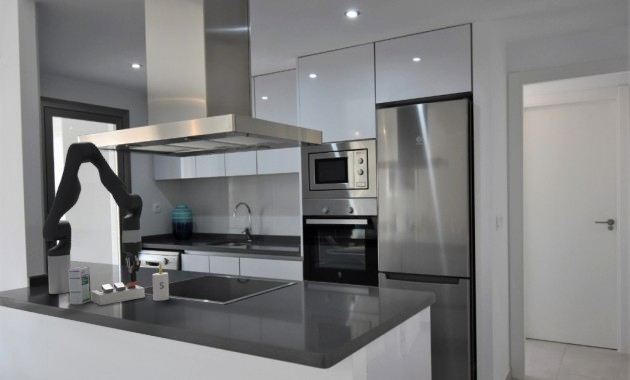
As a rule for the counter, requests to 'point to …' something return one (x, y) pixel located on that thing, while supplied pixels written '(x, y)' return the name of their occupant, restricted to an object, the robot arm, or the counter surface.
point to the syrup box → (79, 285)
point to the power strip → (118, 295)
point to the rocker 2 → (119, 286)
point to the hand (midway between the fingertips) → (133, 281)
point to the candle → (160, 285)
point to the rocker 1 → (107, 288)
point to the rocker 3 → (131, 284)
